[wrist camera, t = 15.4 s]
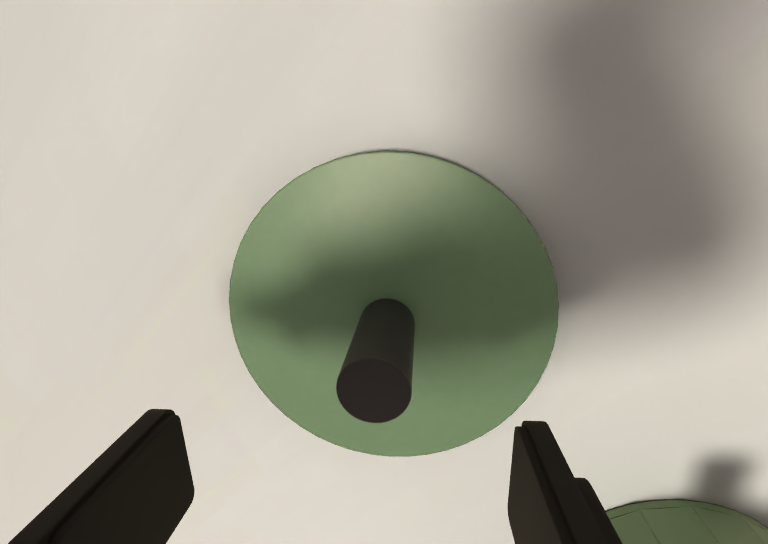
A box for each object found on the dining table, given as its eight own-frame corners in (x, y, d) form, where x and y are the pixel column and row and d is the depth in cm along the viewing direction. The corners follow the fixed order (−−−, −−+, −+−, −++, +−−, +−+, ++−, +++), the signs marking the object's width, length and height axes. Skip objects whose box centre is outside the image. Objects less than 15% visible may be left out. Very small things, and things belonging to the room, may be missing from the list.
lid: (258, 434, 22) (193, 545, 16) (219, 154, 18) (106, 156, 11) (534, 448, 21) (583, 577, 15) (569, 147, 16) (663, 144, 10)
